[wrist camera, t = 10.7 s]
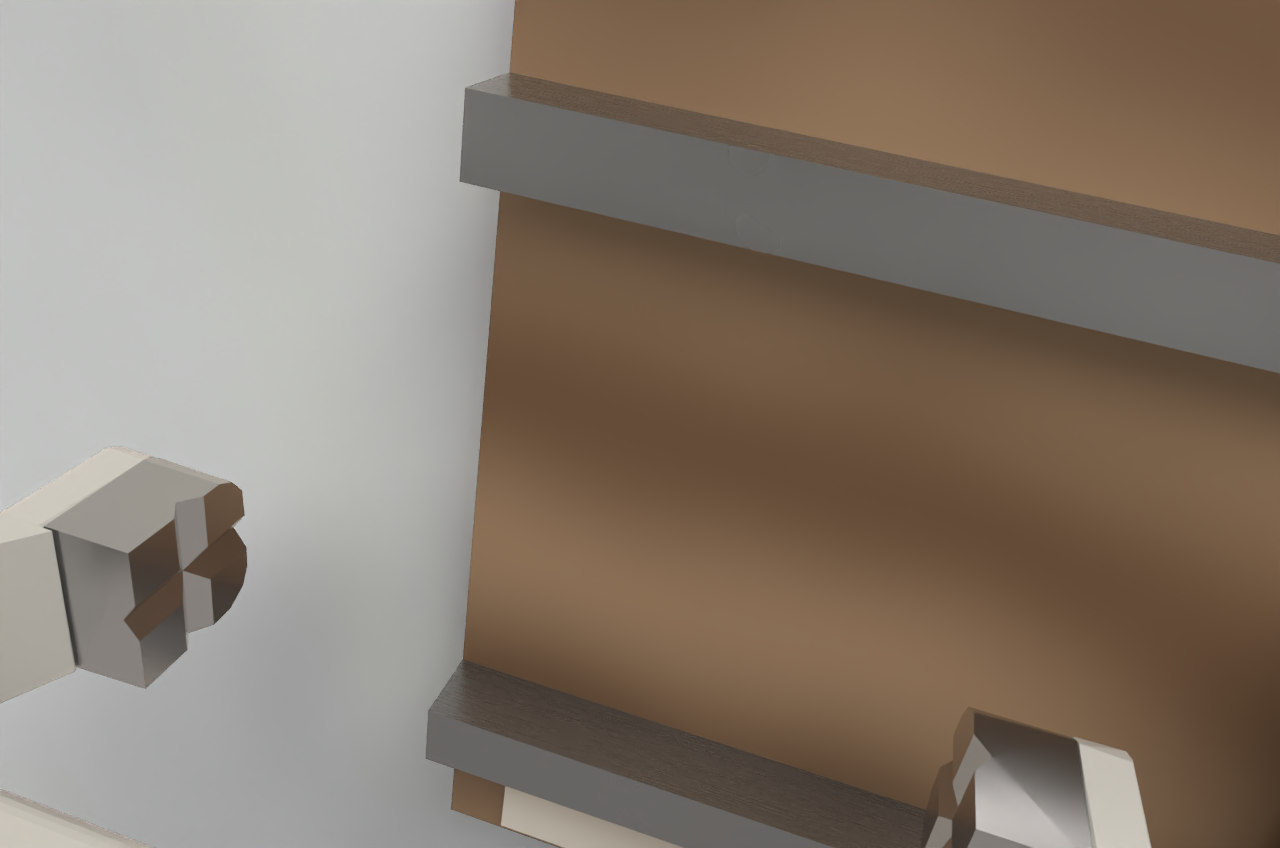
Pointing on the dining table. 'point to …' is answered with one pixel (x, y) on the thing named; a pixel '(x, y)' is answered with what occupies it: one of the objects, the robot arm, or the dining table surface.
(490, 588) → the gauge bench
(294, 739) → the dining table surface
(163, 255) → the dining table surface
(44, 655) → the robot arm
